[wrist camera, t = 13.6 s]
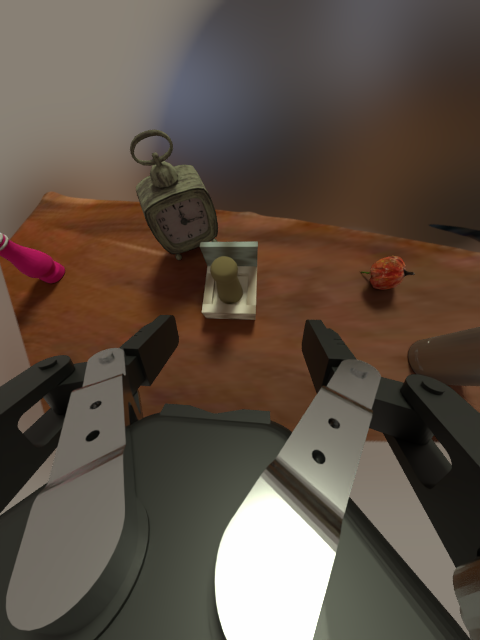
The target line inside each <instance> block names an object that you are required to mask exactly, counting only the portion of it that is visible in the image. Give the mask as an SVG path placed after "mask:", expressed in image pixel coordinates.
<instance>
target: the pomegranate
mask: <svg viewBox="0 0 480 640" xmlns="http://www.w3.org/2000/svg"><path fill="white" fill-rule="evenodd" d="M361 273H366V274H369V273H371V278H370V282H371V284H372V287H373V288H376V289H381V290H386V289H391V288H394V287H396V286H397V285H399V284H400V283H401V282H402V281H403V279H404V277H405V276H406V275H414V274H415V273H413V272H408V271H406V270H405V263H404V261H403V260H402V259H401V258H400V257H397V256H389V257H386V258H383V259H380V260H378V261H377V262H375V263H374V264H373V265H372V267H371V272H361Z"/></svg>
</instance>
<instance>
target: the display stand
mask: <svg viewBox="0 0 480 640" xmlns="http://www.w3.org/2000/svg"><path fill="white" fill-rule="evenodd" d="M200 249H201V251H202V254H203V256H204V258H205V261H206V263H207V266H208V267H207V275H206V283H205V291H204V299H203V306H202V313H203V314H204V316H205V317H206V318H218V319H251V320H255V315H256V283H257V249H258V242H200ZM222 256H227V257H230V258H232V259H233V260H234V261H235V262H236V264H237V267H238V274H237V277H238V279H239V282H240V284H241V286H242V289H243V295H242V298H241V299H240V300H239V301H238V302H236V303H234V304H226V303H223V302H222V301H221V300H220V299H219V297H218V292H217V285H216V281H215V280H214V279H213V277H212V276H211V272H210V268H211V265H212V263H213V261H214V260H215V259H217V258H218V257H222Z"/></svg>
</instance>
